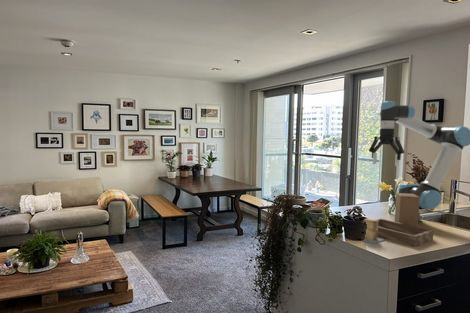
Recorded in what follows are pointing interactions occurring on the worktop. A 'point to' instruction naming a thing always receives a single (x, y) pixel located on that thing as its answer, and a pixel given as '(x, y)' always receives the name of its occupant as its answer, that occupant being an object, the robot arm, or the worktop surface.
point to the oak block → (371, 229)
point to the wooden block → (407, 209)
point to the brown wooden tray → (403, 233)
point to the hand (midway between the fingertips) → (385, 164)
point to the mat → (374, 240)
